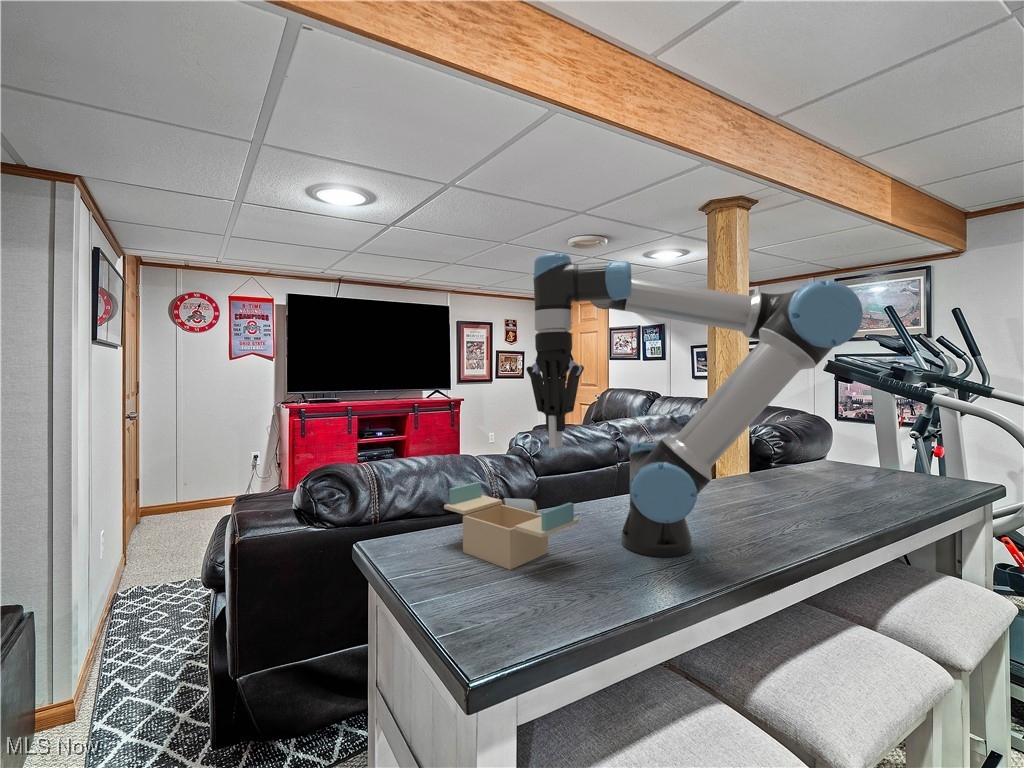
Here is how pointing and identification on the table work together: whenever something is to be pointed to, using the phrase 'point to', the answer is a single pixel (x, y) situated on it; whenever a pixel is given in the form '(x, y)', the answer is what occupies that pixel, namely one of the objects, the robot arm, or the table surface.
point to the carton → (501, 536)
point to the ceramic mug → (521, 504)
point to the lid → (469, 499)
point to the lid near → (550, 521)
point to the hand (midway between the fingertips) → (555, 446)
